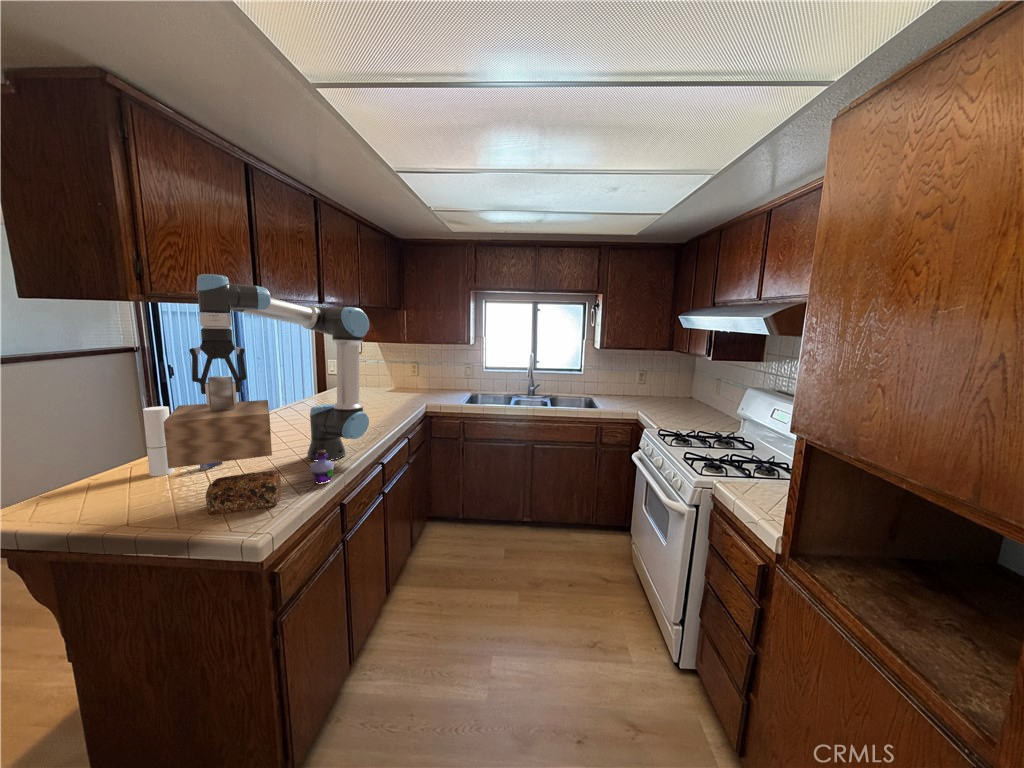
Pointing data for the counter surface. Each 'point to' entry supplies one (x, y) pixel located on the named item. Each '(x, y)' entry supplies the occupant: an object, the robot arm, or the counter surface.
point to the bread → (243, 492)
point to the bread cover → (217, 429)
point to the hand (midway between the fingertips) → (222, 403)
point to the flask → (209, 466)
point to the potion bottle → (322, 467)
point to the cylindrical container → (156, 440)
